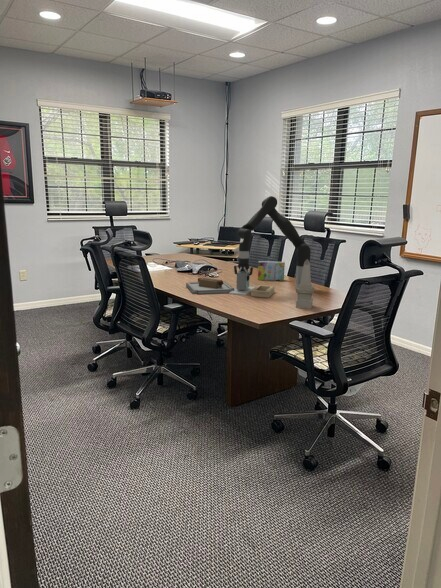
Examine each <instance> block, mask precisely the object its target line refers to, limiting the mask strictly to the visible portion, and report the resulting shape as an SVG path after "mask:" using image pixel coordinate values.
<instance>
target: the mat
mask: <svg viewBox="0 0 441 588" xmlns="http://www.w3.org/2000/svg"><path fill="white" fill-rule="evenodd" d="M255 287H256V286H251V285H249V288H247V289H246V290H236V288H237V287H235V288H234V291H232V292H229V293H228V294H229V295H237V296H247V295H249V294H250V293H251V292H252V290H253V289H254V288H255Z"/></svg>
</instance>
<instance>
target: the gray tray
mask: <svg viewBox="0 0 441 588" xmlns="http://www.w3.org/2000/svg"><path fill="white" fill-rule="evenodd" d="M185 286H186V288H187V290H189V291H190V293H191V294H192V295H194V294H195V295H214V294H215V295H216V294H219V295H220V294H229V292H232V291H234V289H235V288H234V287H233V286H232V285H230V284H229V283H228V282H226V281H223V280H222V279H218V278H217V279H215V278H209V277H203V278H202V277H198V278H197V281H189V282H186V283H185Z"/></svg>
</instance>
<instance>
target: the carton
mask: <svg viewBox="0 0 441 588" xmlns="http://www.w3.org/2000/svg"><path fill="white" fill-rule="evenodd" d="M254 287H255V288H254V289H253V290H252V291H251V292H250V293H251V294H250V295H251V297H257V298H259V297H260V298H268V299H269V298H270V297H271V296H272V295H274V293H275V290H276V289H275V285H266V284H258V285H257V286H254Z"/></svg>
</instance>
